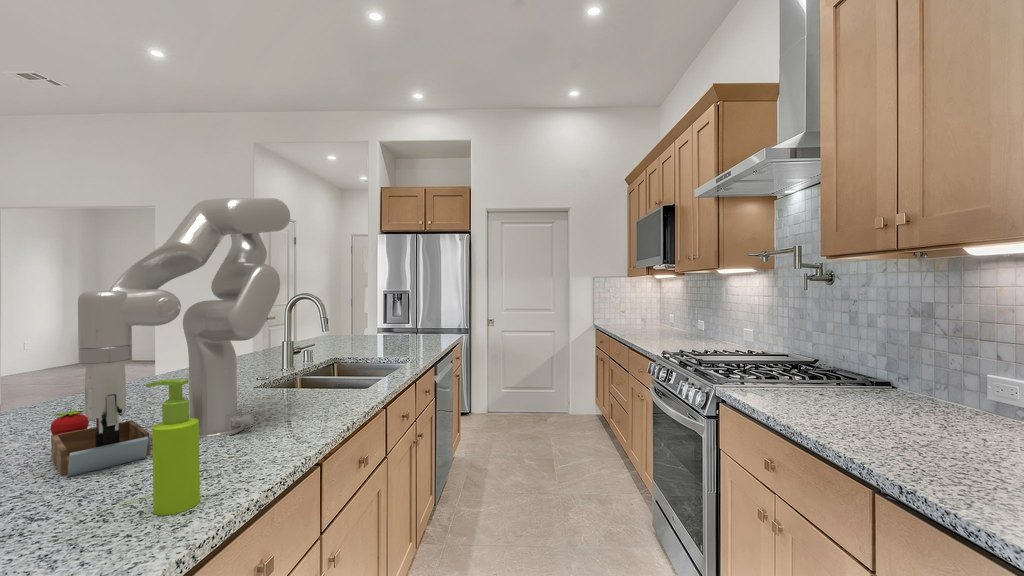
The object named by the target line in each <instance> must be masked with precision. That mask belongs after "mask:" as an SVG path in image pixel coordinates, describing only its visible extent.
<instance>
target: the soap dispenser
mask: <svg viewBox="0 0 1024 576" xmlns="http://www.w3.org/2000/svg"><path fill="white" fill-rule="evenodd" d="M188 384H189V379H187V378H186V379H184V378H166V379H161V380H156V381H153V382H150V383H147V384H144V386H145V387H146V388H150V387H155V386H157V387H158V386H168V399H166V400H165V401H164V402H162V403H161V405H162V406H161V407H162V408H161V412H162V414H161V416H162V422H159V423H157V424H155V425H152V428H151V430H152V431H151V432H152V433H151V434H152V435H151V436H152V437H151V438H152V439H151V440H152V489H153V490H152V492H153V493H152V495H153V500H152V501H153V505H152V506H153V514H154V515H156V516H171V515H176V514H180V513H183V512H185V511H189V510H190V509H193V508H195V507H196V506H197V505H199V503H200V501H201V487H200V485H201V483H200V482H201V481H200V477H201V476H200V474H201V473H200V470H201V469H200V438H199V420H198V419H195V418H190V412H189V399H188V398H186V397H183V386H184V385H188Z"/></svg>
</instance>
